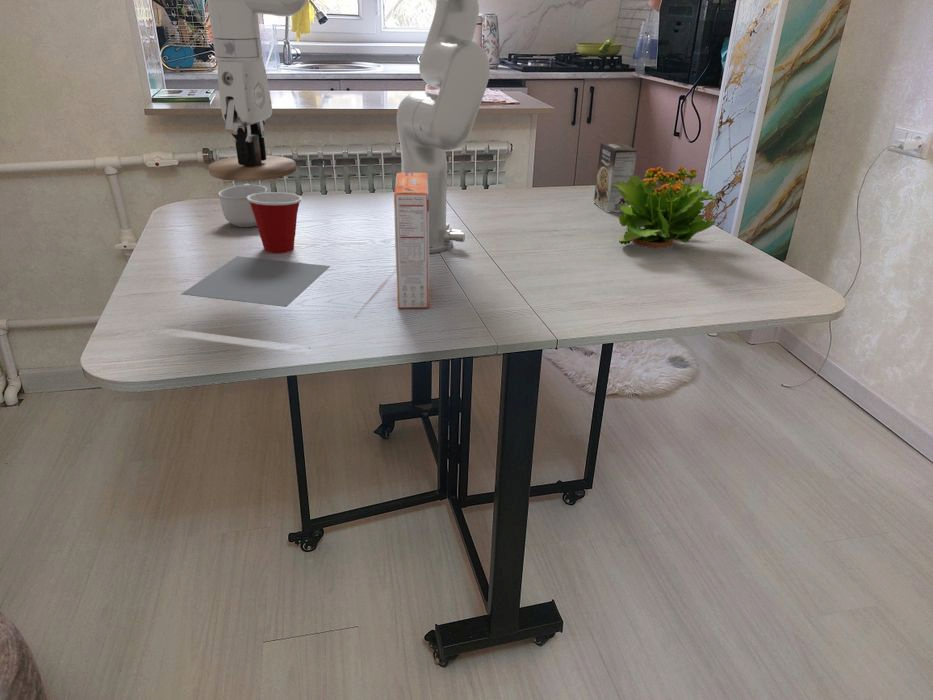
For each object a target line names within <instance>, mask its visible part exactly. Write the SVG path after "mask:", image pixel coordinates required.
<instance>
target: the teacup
mask: <svg viewBox="0 0 933 700" xmlns="http://www.w3.org/2000/svg"><path fill="white" fill-rule="evenodd" d="M264 192H268V188H267V187H266V186H264V185H260V184H250V183H244V184H240V185H233V186H231V187H227V188H224V189H222V190H220V191H219V192H218V197H219V201H220V207H221V210H222V214H223V216H224V219H226V221H227V222H229V223H230V224H232V225H234V226H235V227H237V226H238V228H250V227H257V224H256V220H255V217H254V213H253V211H252V208H251V205H250V202H249V201H248V200H247V197H248V195H251V194H256V193H264Z"/></svg>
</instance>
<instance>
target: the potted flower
mask: <svg viewBox="0 0 933 700" xmlns="http://www.w3.org/2000/svg"><path fill="white" fill-rule="evenodd" d="M687 170H688V169H687V168H685V167H684V166H680V167H678V168H677V171H676V172H673V171H669V172H668V171H667V172H666V171H665V172H664V168H662V167H661V166H658V167H656V168H655V167H651V168H648V169H647V170H646V171H645V175H644V179H641V178H640V177H639V176H638V175H635V174H634V175H631V177H630V178H629V179H630V180H628V181H627V184H626V183H625V182H624V181H623V182H622V183H621V182H619V181H618V182H616V184H617V185H611V186H613V187H616V188H618V189H619V191H620V193H621V195H622V196H623V197H624V201H625V202H626V203H627V205H629V206H621V207H620V209H621V211H622V212H621V213H623V214H622V215H619V216H618V221H619V222H618V223H619V224H620V225H621V226H622V227H626V228H625V229H626V230H627V231H625V232H624V235H623V237H621V238H619V240H618V243H619V244H620V245H630V244H631V242H632V243H633V242H634V243H633V244H636V245H639V246H642V247H645V246H647V248H651V247H654V248H653V249H659V248H660V247H661V248H667V247H670V246H672V244H673V242H674V241H681V242H682V243H688V242H689V241H690V240H692V237H694V236H695V235H696V234H697V233H700V232H702V231H706V230H708V229H709V228H711V227H713V226H714V225H715V224H716V222H717V221H715V220H705V219H704V217H705V215H703V214H701V213H702V210H703V209H705V203H704V201H709V200H711V201H712V200H717V197H716V196H715V195H713V194H712V193H710V191H709V190H704V188H705V187H704V183H702V182H701V181H697V182H696V183H695V184H694V185H693V184H692V182H693V179H694V178H695V179H696V177H697V176H698V175H697V174H696V173H698V171H699V170H698V169H695V168H689V170H688V171H689V172H690V173H688V171H687ZM686 179H689V180H690V182H689V183H684V182H685V181H686ZM658 183H659V184H660V186H661V187H657V186H658Z"/></svg>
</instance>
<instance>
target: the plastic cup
mask: <svg viewBox="0 0 933 700" xmlns="http://www.w3.org/2000/svg"><path fill="white" fill-rule="evenodd" d="M302 198H303V197H302V196H300V195H298V194H296V193H289V192H283V191H282V192H278V191H277V192H275V191H271V192H270V191H267V192H264V193H256V194H251V195H248V197H247V200H248V201H249V202H250V205H251V208H252V211H253V213H254V217H255V220H256V224H257V225H256V227H257V231H258V234H259V238H260V239H261V243H262V247H263V250H264V251H265V252H267V253H269V254H284V253H289V252H291V251H293V250H294V249H295V238H296V231H297V230H296V229H297V219H298V218H297V217H298V212H299V206H300V202H301V201H302Z"/></svg>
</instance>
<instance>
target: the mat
mask: <svg viewBox="0 0 933 700" xmlns="http://www.w3.org/2000/svg"><path fill="white" fill-rule="evenodd" d="M330 267H331V266H330V265H324V264H316V263H315V264H314V263H307V262H305V263H304V262H298V261H285V260H277V259H269V258H268V259H267V258H259V257H247V256H239V255H237V256H235V257H233V258H232V259H231V260H229V261H228V262H227V263H225V264H223V265H222V266H220V267H219V268H217V269H216V270H214V271H213V272H211V273H210V274H208V275H207V276H206V277H204V278H202V279H201V280H199V281H198V282H196V283H194V285H192V286H191V287H189V288H188V289H186V290H184V291H183V292H182V293H181V295H185V296H186V295H187V296H195V297H202V298H204V297H205V298H210V299H219V300H226V301H227V300H228V301H234V302H235V301H237V302H242V303H243V302H244V303H252V304H261V305H269V306H270V305H271V306H278V307H288V306H289V305H291V303H292V302H293V301H294V300H295V299H297V297H298V296H300V295H301V294H302V293H303V292H304V291H305V290H306V289H307V288H308V287H310V286H311V284H313V283H314V282H315V281H316V280H317V279H318V278H319V277H320V276H321V275H322V274H324V272H326V271H327V270H328V269H329V268H330Z"/></svg>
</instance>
